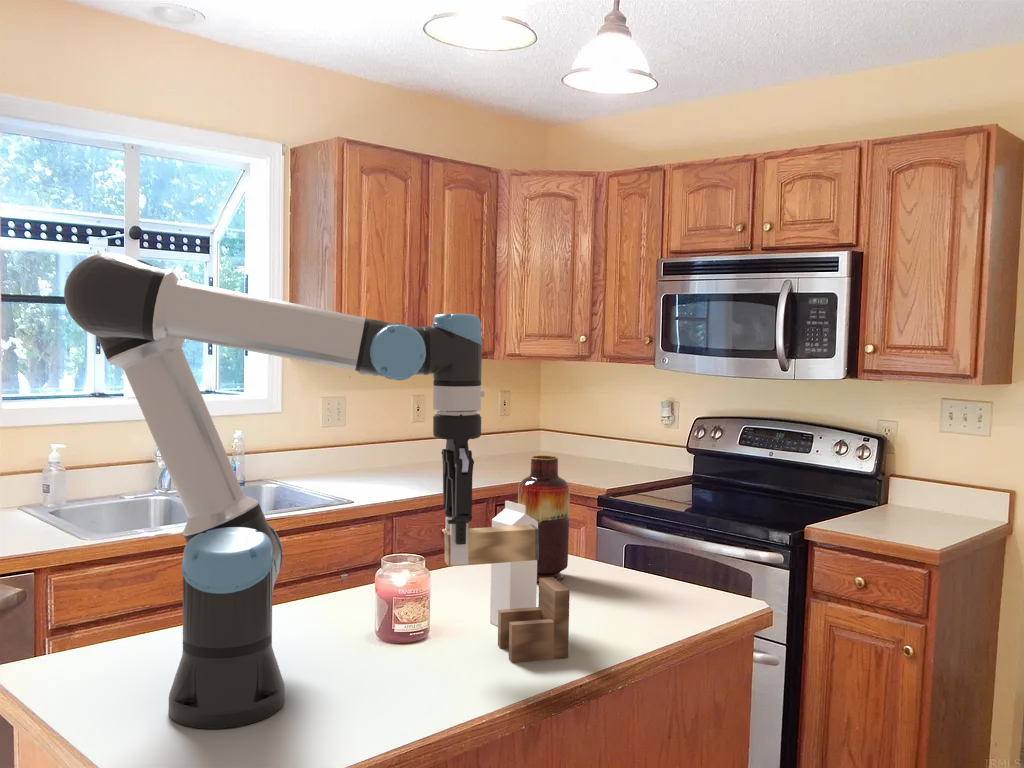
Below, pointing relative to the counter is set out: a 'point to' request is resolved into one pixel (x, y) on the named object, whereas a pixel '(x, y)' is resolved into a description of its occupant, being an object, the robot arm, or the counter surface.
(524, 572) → the milk
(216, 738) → the counter surface
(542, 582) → the brown wooden blocks
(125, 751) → the counter surface
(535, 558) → the wooden block
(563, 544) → the vase
